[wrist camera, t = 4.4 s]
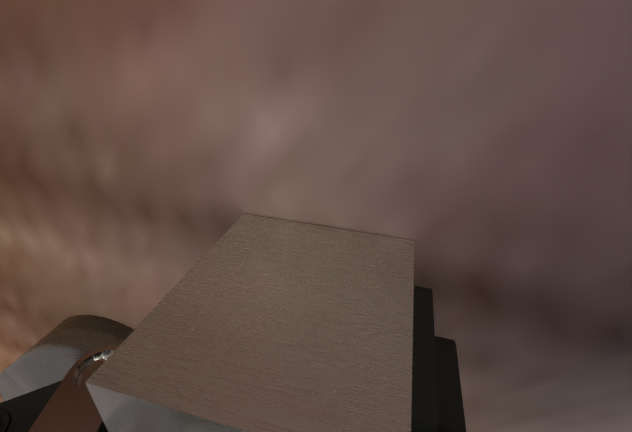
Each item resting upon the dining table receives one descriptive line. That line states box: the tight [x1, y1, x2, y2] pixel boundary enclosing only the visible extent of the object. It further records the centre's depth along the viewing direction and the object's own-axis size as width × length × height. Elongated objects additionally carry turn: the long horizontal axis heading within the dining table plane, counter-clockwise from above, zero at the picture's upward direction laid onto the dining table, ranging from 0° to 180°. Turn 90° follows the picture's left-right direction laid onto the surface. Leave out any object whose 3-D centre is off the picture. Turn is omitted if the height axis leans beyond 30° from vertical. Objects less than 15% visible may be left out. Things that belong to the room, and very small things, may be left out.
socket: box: [85, 214, 415, 432], centre depth 9 cm, size 5×5×6 cm
